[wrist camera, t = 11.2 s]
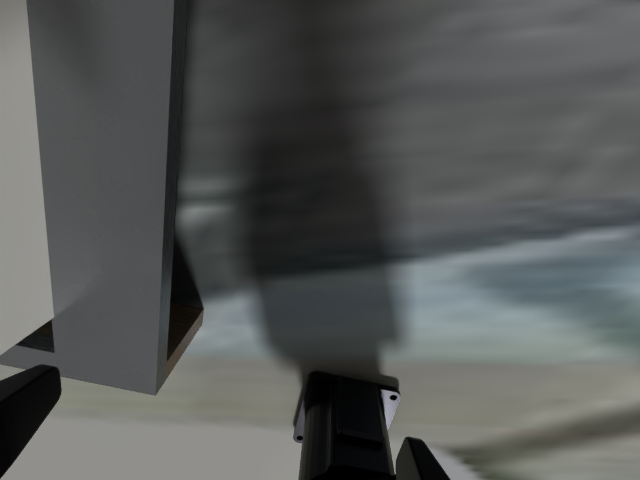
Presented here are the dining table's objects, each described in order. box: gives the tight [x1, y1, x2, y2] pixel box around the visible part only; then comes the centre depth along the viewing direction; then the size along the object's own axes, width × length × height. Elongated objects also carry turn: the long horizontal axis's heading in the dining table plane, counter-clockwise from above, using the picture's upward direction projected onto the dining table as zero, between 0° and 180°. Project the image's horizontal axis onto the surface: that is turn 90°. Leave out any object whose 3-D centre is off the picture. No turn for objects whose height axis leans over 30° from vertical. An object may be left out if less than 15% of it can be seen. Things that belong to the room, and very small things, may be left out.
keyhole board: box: [0, 0, 204, 396], centre depth 15 cm, size 22×14×6 cm, turn 168°
